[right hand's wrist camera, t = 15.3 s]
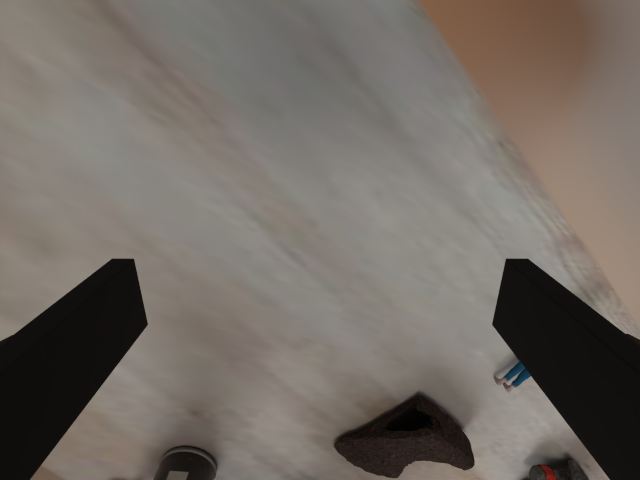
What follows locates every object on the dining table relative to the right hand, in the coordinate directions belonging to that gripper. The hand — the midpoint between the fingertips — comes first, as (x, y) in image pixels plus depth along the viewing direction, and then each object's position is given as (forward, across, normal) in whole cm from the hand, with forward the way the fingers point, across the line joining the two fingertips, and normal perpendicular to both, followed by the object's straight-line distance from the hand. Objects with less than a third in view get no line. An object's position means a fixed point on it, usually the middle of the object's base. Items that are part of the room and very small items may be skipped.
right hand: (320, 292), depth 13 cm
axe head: (+31, +13, -45) cm, 56 cm away
